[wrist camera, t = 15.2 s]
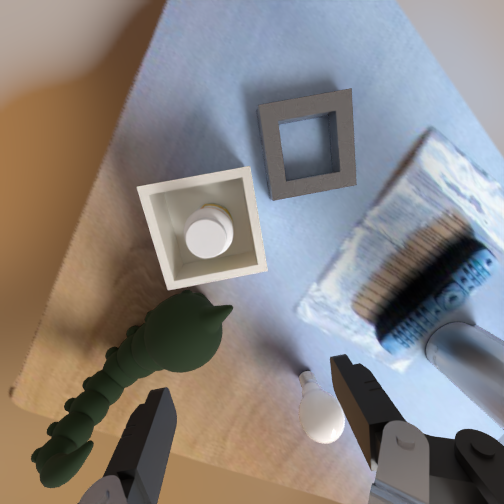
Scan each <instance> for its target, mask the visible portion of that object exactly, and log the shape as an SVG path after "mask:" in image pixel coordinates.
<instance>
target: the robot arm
mask: <svg viewBox="0 0 504 504" xmlns="http://www.w3.org/2000/svg"><path fill="white" fill-rule="evenodd" d="M426 356H427V358H428V360H429V361H430V362H431V363H432V364H433V365H434V366H435V367H436V368H437V369H438V370H439V371H440V372H441V373H443V374H444V375H445V376H446V377H447V378H448V379H449V380H450V381H451V382H452V383H453V384H454V385H455V386H457V387H458V388H459V389H460V390H461V391H462V392H463V393H464V394H465V395H466V396H467V397H468V398H470V399H471V400H472V401H473V402H474V403H475V404H476V405H477V406H478V407H479V408H480V409H481V410H483V411H484V412H485V413H486V414H487V415H488V416H489V417H490V418H491V419H492V420H493V421H495V422H496V423H497V424H498V425H499V426H500V427H501V428H502V429H503V430H504V341H503V340H501V339H499V338H498V337H496V336H494V335H493V334H491V333H489V332H488V331H486V330H484V329H483V328H481V327H479V326H478V325H475V326H471V325H469V324H466V323H463V322H454V323H450V324H447V325H445V326H443V327H441V328H439V329H438V330H437V331H436V332H435V333H434V334H433V335H432V336H431V338H430V339H429V341H428V343H427V346H426ZM330 364H331V374H332V383H333V387H334V391H335V394H336V396H337V399H338V401H339V403H340V405H341V407H342V409H343V411H344V414H345V416H346V418H347V420H348V422H349V424H350V426H351V429H352V431H353V433H354V435H355V437H356V439H357V441H358V444H359V446H360V448H361V450H362V452H363V454H364V456H365V459H366V461H367V463H368V465H369V467H370V469H371V471H376V470H377V472H376V478H375V482H374V484H372V486H371V490H370V495H369V501H368V504H504V446H503V445H502V444H501V443H500V442H498V441H497V440H496V439H494V438H493V437H491V436H489V435H488V434H485V433H483V432H481V431H478V430H473V429H463V430H460V431H459V432H458V433H457V434H456V436H455V439H449V438H441V437H434V436H429V435H426V434H424V433H422V432H421V431H420V430H419V429H418V428H417V427H415V426H414V425H412V424H410V423H408V422H406V420H405V419H404V418H403V417H402V415H401V414H400V412H399V411H398V409H397V408H396V407H395V405H394V404H393V402H392V401H391V400H390V398H389V397H388V395H387V394H386V393H385V391H384V390H383V389H382V387H381V385H380V384H379V383H378V382H377V380H376V378H375V377H374V376H373V374H372V373H371V371H370V370H369V369H367V368H366V367H364V366H363V365H362V364H360V363H359V364H354V365H353V364H352V362H351V361H350V359H349V358H348V356H347V355H346V354H343V355H338V356H333V357H330ZM176 424H177V414H176V410H175V407H174V403H173V400H172V397H171V394H170V391H169V389H168V388H167V387H165V388H160V389H155V390H151V391H150V392H149V394H148V397H147V399H146V402H145V404H140V405H139V406H138V407H137V408H136V410H135V411H134V412H133V413H132V414H131V416H130V418H129V420H128V423H127V425H126V429H124V431H123V434H122V436H121V439H120V440H119V442H118V445H117V447H116V449H115V451H114V454H113V456H112V458H111V460H110V462H109V465H108V467H107V469H106V471H105V473H104V475H103V477H102V478H101V479H99V480H98V481H96V482H95V483H94V484H93V485H92V486H91V487H90V488H89V489H88V490H87V491H86V492H85V494H84V495H83V496H82V498H81V500H80V502H79V503H78V504H157V502H158V498H159V494H160V490H161V486H162V482H163V478H164V474H165V469H166V465H167V461H168V457H169V453H170V449H171V445H172V441H173V437H174V433H175V429H176Z"/></svg>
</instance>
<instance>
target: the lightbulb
mask: <svg viewBox="0 0 504 504" xmlns="http://www.w3.org/2000/svg"><path fill="white" fill-rule="evenodd" d="M299 381H300V384H301V386H302V400H301V402H300V406H299V420H300V424H301V426H302V428H303V430H304V432H305V433H306V434H307V435H308V436H309V437H310V438H311V439H312V440H314V441H316V442H319V443H323V444H327V443H332V442H334V441H335V440H337V439H338V438H339V437H340V436H341V434H342V432H343V430H344V426H345V416H344V411H343V409H342V407H341V405H340V403H339V401H338V400H337V399H336V398H335V397H334V396H333V395H331V394H330V393H328V392H326V391H324V390H323V389H322V387H321V386H320V385H319V384H318V383H317V381H316V378H315V376H314V374H313V373H312V372H311V371H305V372H303V373H301V374H300V376H299Z"/></svg>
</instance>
